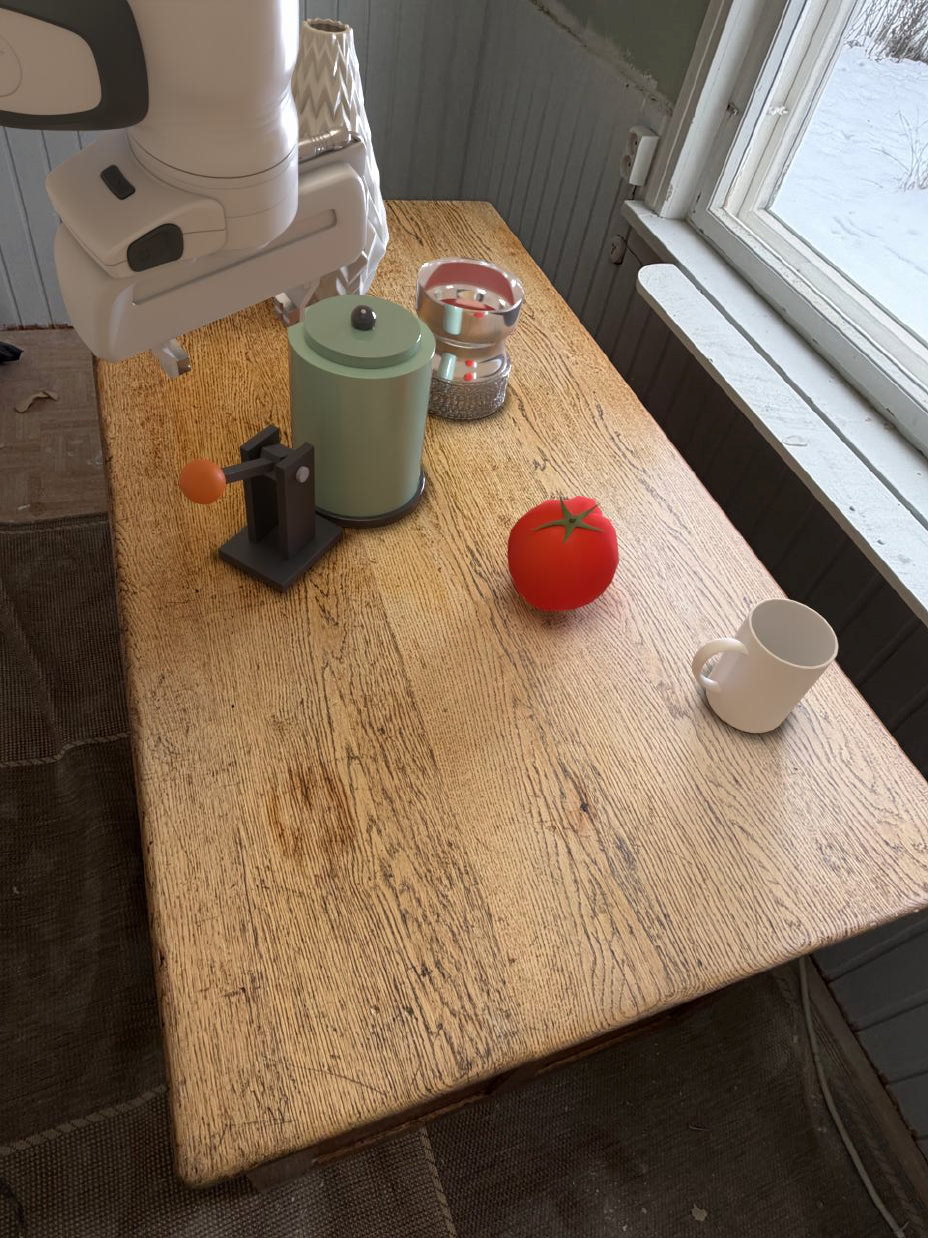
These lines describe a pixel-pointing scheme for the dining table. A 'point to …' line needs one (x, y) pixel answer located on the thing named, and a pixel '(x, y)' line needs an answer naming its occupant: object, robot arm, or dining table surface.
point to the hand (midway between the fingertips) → (234, 342)
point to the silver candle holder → (468, 333)
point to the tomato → (563, 554)
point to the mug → (766, 664)
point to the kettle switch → (227, 474)
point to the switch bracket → (280, 518)
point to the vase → (328, 101)
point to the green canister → (361, 406)
